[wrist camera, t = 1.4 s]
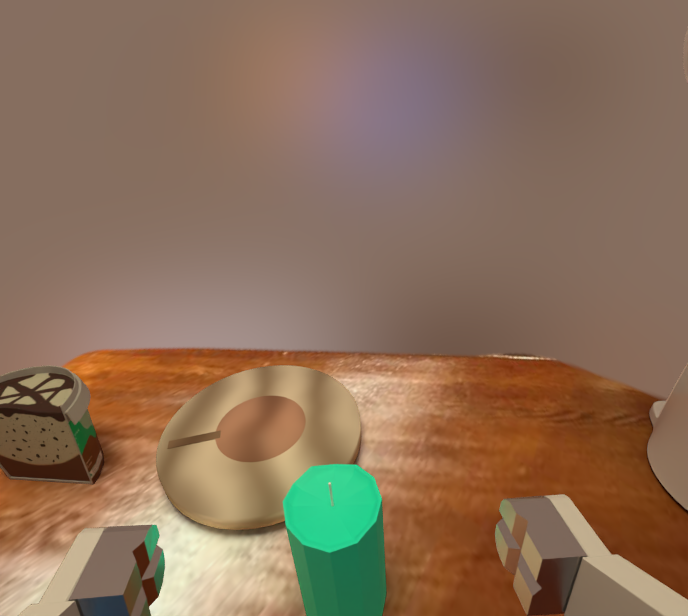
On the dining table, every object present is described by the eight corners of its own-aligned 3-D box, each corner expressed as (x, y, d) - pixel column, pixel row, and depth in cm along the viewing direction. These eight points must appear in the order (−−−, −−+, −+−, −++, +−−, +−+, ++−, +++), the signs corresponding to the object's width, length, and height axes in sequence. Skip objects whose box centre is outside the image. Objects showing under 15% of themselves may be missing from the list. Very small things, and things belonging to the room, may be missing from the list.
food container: (142, 437, 46) (110, 363, 41) (107, 485, 40) (66, 406, 35) (42, 432, 47) (0, 361, 42) (-4, 478, 42) (-58, 402, 37)
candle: (400, 577, 31) (398, 465, 25) (360, 663, 27) (347, 553, 21) (332, 539, 34) (316, 431, 28) (286, 611, 29) (256, 502, 24)
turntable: (339, 362, 53) (338, 352, 52) (386, 497, 36) (385, 485, 35) (176, 393, 50) (172, 383, 49) (140, 556, 33) (134, 545, 32)
